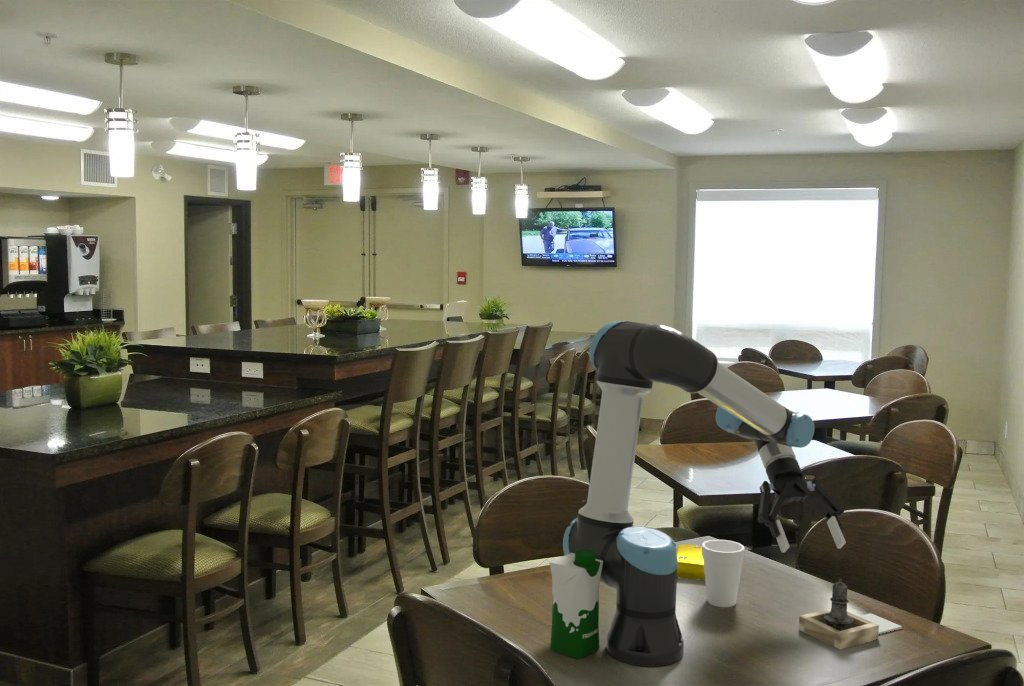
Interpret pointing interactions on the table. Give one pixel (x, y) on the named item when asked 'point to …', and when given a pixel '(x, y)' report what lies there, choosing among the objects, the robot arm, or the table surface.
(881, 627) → the white mat
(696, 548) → the element tile
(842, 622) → the dark chess piece
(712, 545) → the foam cup
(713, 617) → the table surface
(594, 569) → the milk carton
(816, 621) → the wooden square frame
